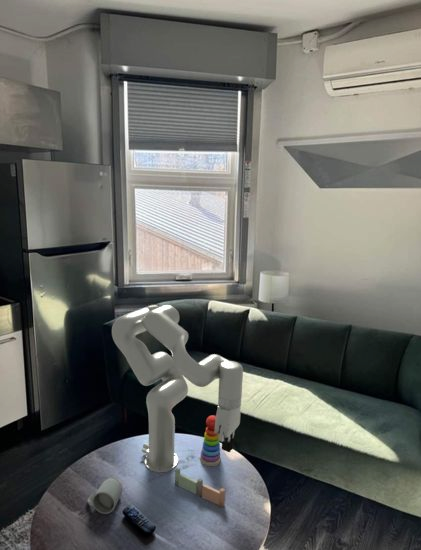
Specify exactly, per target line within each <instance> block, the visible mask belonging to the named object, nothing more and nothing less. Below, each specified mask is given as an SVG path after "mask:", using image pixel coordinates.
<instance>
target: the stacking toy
mask: <svg viewBox="0 0 421 550" xmlns="http://www.w3.org/2000/svg"><path fill="white" fill-rule="evenodd" d="M215 420H216V415H213V414H212V415H209V416H208V417H207V418H206V421H205V425H206V427H205V432H204V436H203V437H204V438H203V442H202V448H201V451H200V457H199V460H200V463H202V464H203V465H204V466H207V467H216V466H218V465H219V464H220V463H221V460H222V457H221V443H220V441H218V439H219V434H220V432H219V433H218V434H215Z"/></svg>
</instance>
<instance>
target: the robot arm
mask: <svg viewBox="0 0 421 550" xmlns="http://www.w3.org/2000/svg"><path fill="white" fill-rule="evenodd" d="M179 322H180V314H179V311H178V310H177V309H176V308H175V307H174V306H172V305H169V304H163V305H156V306H147V307H143V308H140V309H137V310H134V311H131V312H128V313H126V314H123V315H121V316H119V317H118V318H117V319H116V320H115V321H114V322H113V324H112V327H111V337H112V340H113V342H114V344H115V345H116V347H117V348H118V349H119V350H120V352H121V353H122V354H123V356H124V357H125V358H126V359H125V360H126V361H127V363H128V364H129V367H130V368H131V370H132V371H133V374H134V375H135V377H136V379H137V381H138V382H139V383H140V384H141V385H143V386H145V387H147V386H151V385H153V384H155V383H156V382H158V381H160V380H161V381H162V382H160V383H158V384H157V385H156V386H154V387H153V388H151V389H150V390H149V392H147V395H146V401H145V403H146V408H147V413H148V414H147V415H148V443H147V442H144V444H143V445H142V449H141V452H142V453H143V454H145V455H146V456H145V457H144V465H145V467H146V468H147V470H149V471H150V472H152V473H157V474H158V473H159V474H161V473H162V474H163V473H167V472H170V471H172V470H175V469H176V468H177V465H178V463H179V457H178V455H177V453H176V452H175V439H176V438H175V433H176V431H175V430H176V425H175V424H176V421H175V420H176V418H175V416H174V414H173V413H172V410H173V408H174V407H175V406H177V404H179V403H180V402H182V401H183V400H184V399H185V398H186V397H187V395H188V393H189V386H188V384H187V381H189V382H190V383H191V384H193V385H194V386H196V387H199V388H204V387H208V385H210V384H211V383H213V382H214V381H215V380H218V396H217V397H218V398H217V405H218V406H217V410H216V414H215V416H216V420H215V434H218V433H219V439H218V441H219V442H221V450H223V451H225V452H227V453H231V451H232V450H233V448H234V437H235V431H236V430H237V428H238V427H239V425H240V423H241V407H242V399H243V398H242V397H243V396H242V395H243V382H244V381H243V380H244V379H243V378H244V377H243V376H244V368H243V365H242V364H241V363H240V362H237V361H234V360H233V361H232V360H229V359H227V358H225V357H223V356H221V355H220V354H217V353H216V354H215V353H214V354H213V353H212V354H210V355H208V356H207V357H205V358H203V359H202V360H200V361H199V362H198V361H196V360H195V359H194V358H193V357H191V356H190V355H189V353H188V351H187V349H186V344H187V342H188V340H189V332H188V331H187V330H185V329H184V327H183V326H180V325H179ZM144 332H148V333H149V334H150V335H151V336H153V338H155V339H156V340H157V341H158V342H160V344H162V345H163V346H164V347H166V349H168V350H169V351H170V352H171V355H169V354H168V353H167V352H166V351H157V352H155V353H153V354H151V352H150V350H149V349H148V347H147V345H146V344H145V343H144V342H143V341H142V340H140V339H139V338H137V337H136V336H137V335H139V334H142V333H144ZM186 380H187V381H186Z"/></svg>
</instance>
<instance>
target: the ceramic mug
mask: <svg viewBox="0 0 421 550" xmlns="http://www.w3.org/2000/svg"><path fill="white" fill-rule="evenodd" d="M122 492H123V485H122V483H121V481H119V480H118V479H116V478H113V477H110V478H109V477H108V478H107V479H105V480H104V481H103V482H102V483H101V485H100V486H99V488H97V490H96V491H94V492H93V493H91V494H90V495H89V496H88V498H87V503H88V505H89V506H91V507H93V508H94V509H95V511H97V512H98V513H100V514H110V513H112V512H113V511H114V510H115V508H116V506H117V504H118V502H119V500H120V498H121V496H122Z"/></svg>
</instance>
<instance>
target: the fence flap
mask: <svg viewBox="0 0 421 550" xmlns="http://www.w3.org/2000/svg"><path fill="white" fill-rule="evenodd" d="M196 496H197V497H200V498H201V497H202V498H203V499H205V500H207V501H209V502H211V503H214V504H216V505H218V507H220V508H224V507H225V503H226V502H225V500H226V489H225V488H219V490H218V489H216V488H214V487H211V486H209V485H208V484H205V483H204V479H203V478H197V493H196Z"/></svg>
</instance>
